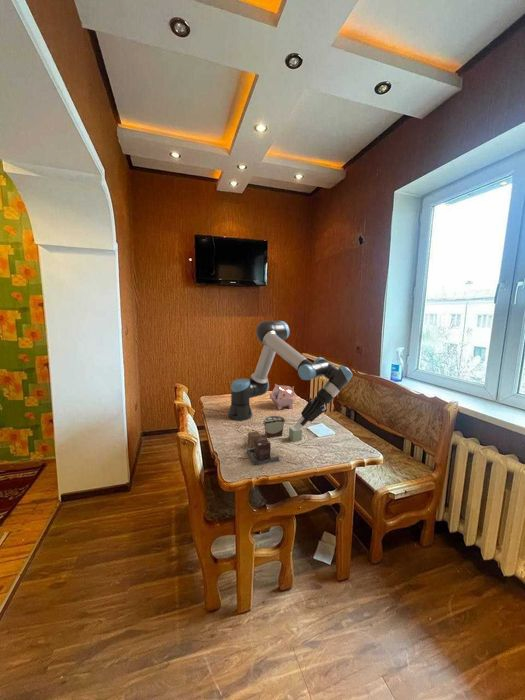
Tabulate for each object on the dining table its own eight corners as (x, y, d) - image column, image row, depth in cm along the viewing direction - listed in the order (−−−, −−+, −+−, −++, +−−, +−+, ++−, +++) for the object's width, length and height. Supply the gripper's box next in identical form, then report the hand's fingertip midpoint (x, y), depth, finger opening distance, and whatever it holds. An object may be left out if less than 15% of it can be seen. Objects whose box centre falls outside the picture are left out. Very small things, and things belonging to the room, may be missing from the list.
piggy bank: (266, 403, 200) (267, 382, 197) (290, 402, 205) (290, 381, 202) (273, 411, 185) (273, 388, 183) (298, 409, 190) (299, 387, 188)
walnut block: (247, 443, 142) (248, 432, 141) (257, 441, 143) (257, 430, 142) (250, 447, 137) (251, 436, 136) (260, 446, 139) (260, 435, 138)
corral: (246, 452, 132) (246, 449, 132) (269, 448, 137) (269, 445, 136) (254, 465, 122) (254, 462, 121) (279, 460, 126) (279, 457, 126)
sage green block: (288, 437, 149) (289, 427, 148) (297, 436, 151) (297, 425, 150) (293, 441, 144) (293, 430, 144) (301, 440, 146) (302, 429, 145)
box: (265, 451, 134) (266, 437, 133) (270, 457, 128) (271, 443, 127) (253, 453, 132) (254, 439, 131) (258, 460, 126) (258, 445, 125)
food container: (279, 431, 156) (280, 414, 155) (284, 435, 151) (285, 418, 149) (259, 434, 152) (260, 416, 150) (263, 439, 146) (264, 421, 145)
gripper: (339, 402, 131) (307, 439, 128) (324, 393, 143) (294, 427, 140) (331, 392, 129) (297, 430, 126) (316, 384, 141) (285, 419, 138)
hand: (295, 428), depth 133 cm, fingers closed
